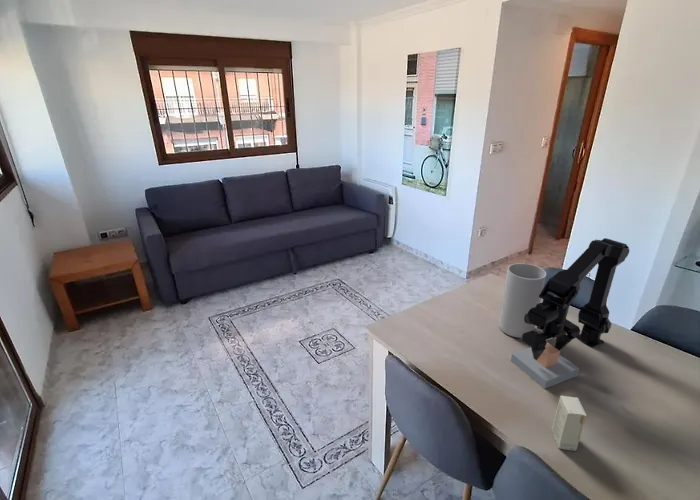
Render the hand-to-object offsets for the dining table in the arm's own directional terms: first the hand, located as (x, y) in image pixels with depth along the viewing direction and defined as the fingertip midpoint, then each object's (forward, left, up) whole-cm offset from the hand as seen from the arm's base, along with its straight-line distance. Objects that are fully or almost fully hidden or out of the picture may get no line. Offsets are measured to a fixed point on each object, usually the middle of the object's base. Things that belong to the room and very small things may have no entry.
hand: (546, 355), depth 119 cm
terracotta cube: (0, 0, -2) cm, 2 cm away
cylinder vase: (-8, -20, -6) cm, 22 cm away
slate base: (0, 0, -5) cm, 5 cm away
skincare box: (+17, +22, -6) cm, 28 cm away
